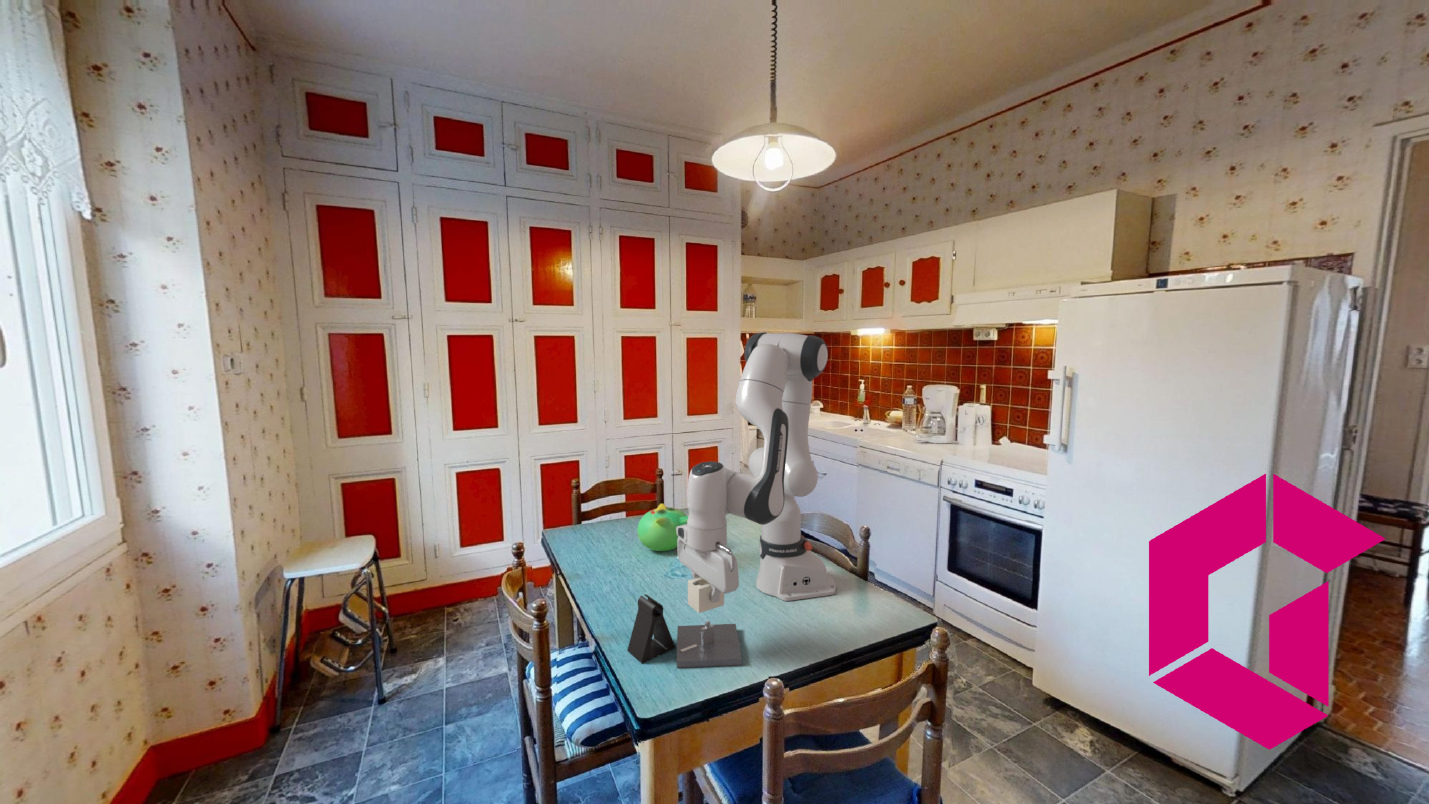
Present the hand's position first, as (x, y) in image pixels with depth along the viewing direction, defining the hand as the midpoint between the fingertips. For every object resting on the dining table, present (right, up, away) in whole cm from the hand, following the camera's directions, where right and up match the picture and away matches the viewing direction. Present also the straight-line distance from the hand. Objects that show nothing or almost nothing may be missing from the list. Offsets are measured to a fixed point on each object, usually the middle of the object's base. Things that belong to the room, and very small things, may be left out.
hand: (706, 595), depth 116 cm
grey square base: (0, -13, +2) cm, 13 cm away
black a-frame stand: (-12, -13, +1) cm, 18 cm away
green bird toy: (-15, -6, +59) cm, 61 cm away
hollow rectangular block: (0, -2, 0) cm, 2 cm away
